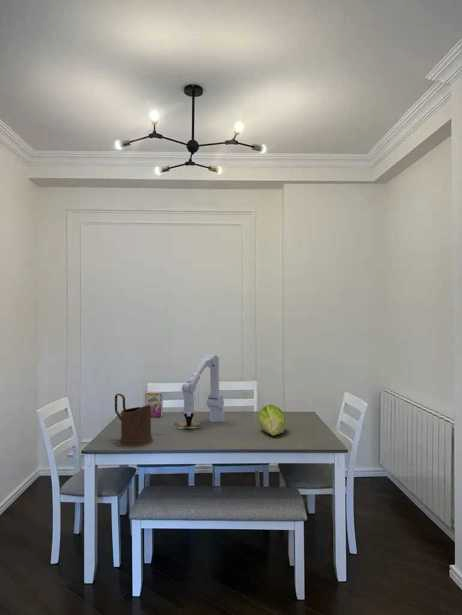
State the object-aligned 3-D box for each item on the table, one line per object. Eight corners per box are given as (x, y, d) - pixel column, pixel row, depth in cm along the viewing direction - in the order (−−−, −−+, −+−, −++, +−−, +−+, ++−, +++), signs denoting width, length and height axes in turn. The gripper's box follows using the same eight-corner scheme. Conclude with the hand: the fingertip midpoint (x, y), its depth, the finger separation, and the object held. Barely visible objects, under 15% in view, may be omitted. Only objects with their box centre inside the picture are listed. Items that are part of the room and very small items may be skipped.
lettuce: (288, 444, 269) (259, 446, 270) (285, 421, 293) (259, 423, 294) (286, 420, 264) (257, 422, 266) (283, 398, 288) (256, 401, 289)
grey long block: (202, 425, 298) (202, 421, 298) (202, 426, 296) (202, 421, 296) (174, 426, 297) (174, 422, 297) (174, 427, 295) (174, 422, 295)
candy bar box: (144, 417, 322) (144, 392, 322) (146, 415, 327) (146, 391, 327) (161, 417, 321) (161, 393, 321) (162, 416, 326) (162, 391, 326)
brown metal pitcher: (138, 448, 250) (138, 399, 250) (103, 442, 261) (103, 396, 262) (160, 439, 266) (160, 394, 266) (126, 434, 278) (126, 391, 278)
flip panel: (200, 422, 297) (200, 425, 285) (200, 425, 297) (200, 427, 285) (177, 423, 296) (176, 426, 284) (177, 425, 296) (176, 428, 284)
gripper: (182, 400, 291) (182, 423, 291) (181, 405, 277) (182, 429, 277) (193, 400, 292) (193, 423, 292) (194, 405, 278) (194, 428, 278)
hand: (188, 426), depth 285 cm, fingers closed
